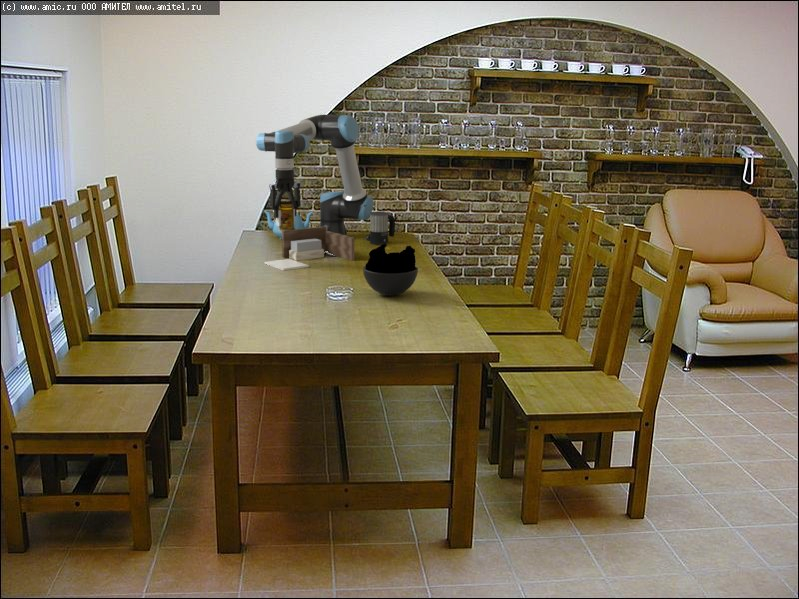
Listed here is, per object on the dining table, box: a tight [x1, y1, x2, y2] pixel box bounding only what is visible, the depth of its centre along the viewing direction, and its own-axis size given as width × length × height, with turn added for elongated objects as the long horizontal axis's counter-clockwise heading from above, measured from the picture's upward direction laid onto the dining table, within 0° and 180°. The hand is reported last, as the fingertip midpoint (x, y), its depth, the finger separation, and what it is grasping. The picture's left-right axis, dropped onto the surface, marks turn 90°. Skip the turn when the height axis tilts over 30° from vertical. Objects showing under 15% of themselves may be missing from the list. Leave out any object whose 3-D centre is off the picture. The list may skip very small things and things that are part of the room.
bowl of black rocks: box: [362, 244, 419, 296], centre depth 313 cm, size 20×20×19 cm
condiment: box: [277, 200, 296, 231], centre depth 358 cm, size 7×8×12 cm
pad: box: [264, 258, 310, 271], centre depth 363 cm, size 16×12×1 cm
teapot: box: [263, 210, 315, 240], centre depth 425 cm, size 16×20×14 cm
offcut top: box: [291, 239, 322, 252], centre depth 378 cm, size 5×12×4 cm, turn 127°
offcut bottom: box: [288, 249, 325, 262], centre depth 379 cm, size 6×14×4 cm, turn 127°
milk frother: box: [365, 211, 396, 246], centre depth 418 cm, size 14×16×15 cm
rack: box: [281, 226, 356, 262], centre depth 375 cm, size 22×23×12 cm
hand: (285, 224), depth 358 cm, fingers closed on condiment, 6 cm apart
